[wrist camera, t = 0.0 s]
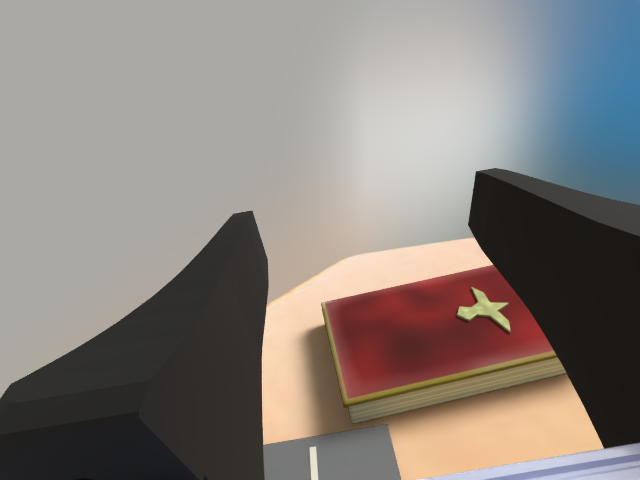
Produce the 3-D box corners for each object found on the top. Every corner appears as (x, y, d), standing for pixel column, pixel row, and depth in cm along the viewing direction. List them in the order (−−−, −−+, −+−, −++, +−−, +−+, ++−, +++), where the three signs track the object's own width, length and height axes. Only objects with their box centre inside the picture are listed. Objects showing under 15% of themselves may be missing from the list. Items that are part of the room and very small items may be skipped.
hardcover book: (325, 326, 37) (319, 298, 35) (503, 286, 38) (508, 256, 36) (349, 433, 27) (343, 402, 25) (592, 374, 28) (606, 340, 26)
